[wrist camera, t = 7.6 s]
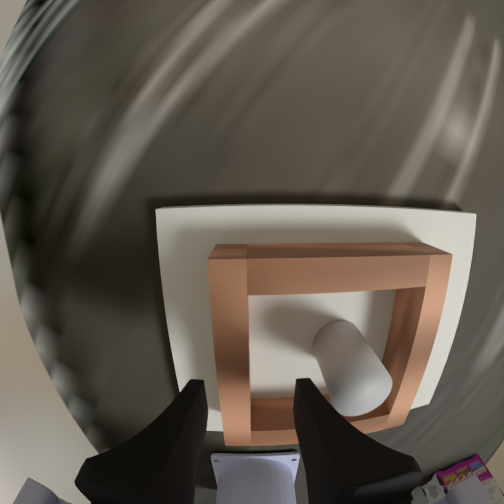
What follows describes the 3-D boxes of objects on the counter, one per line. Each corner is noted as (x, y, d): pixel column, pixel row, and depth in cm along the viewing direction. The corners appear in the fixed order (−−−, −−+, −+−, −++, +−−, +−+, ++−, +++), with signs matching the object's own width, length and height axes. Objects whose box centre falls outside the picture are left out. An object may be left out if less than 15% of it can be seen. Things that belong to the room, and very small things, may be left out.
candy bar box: (419, 487, 25) (448, 555, 9) (434, 471, 24) (469, 543, 8) (463, 469, 25) (495, 524, 9) (478, 452, 24) (514, 509, 8)
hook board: (421, 393, 19) (454, 440, 13) (191, 416, 19) (177, 479, 13) (463, 211, 15) (528, 226, 9) (164, 206, 15) (111, 221, 9)
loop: (388, 398, 17) (403, 424, 14) (228, 414, 17) (225, 445, 14) (423, 242, 14) (452, 254, 11) (216, 244, 14) (207, 259, 11)
